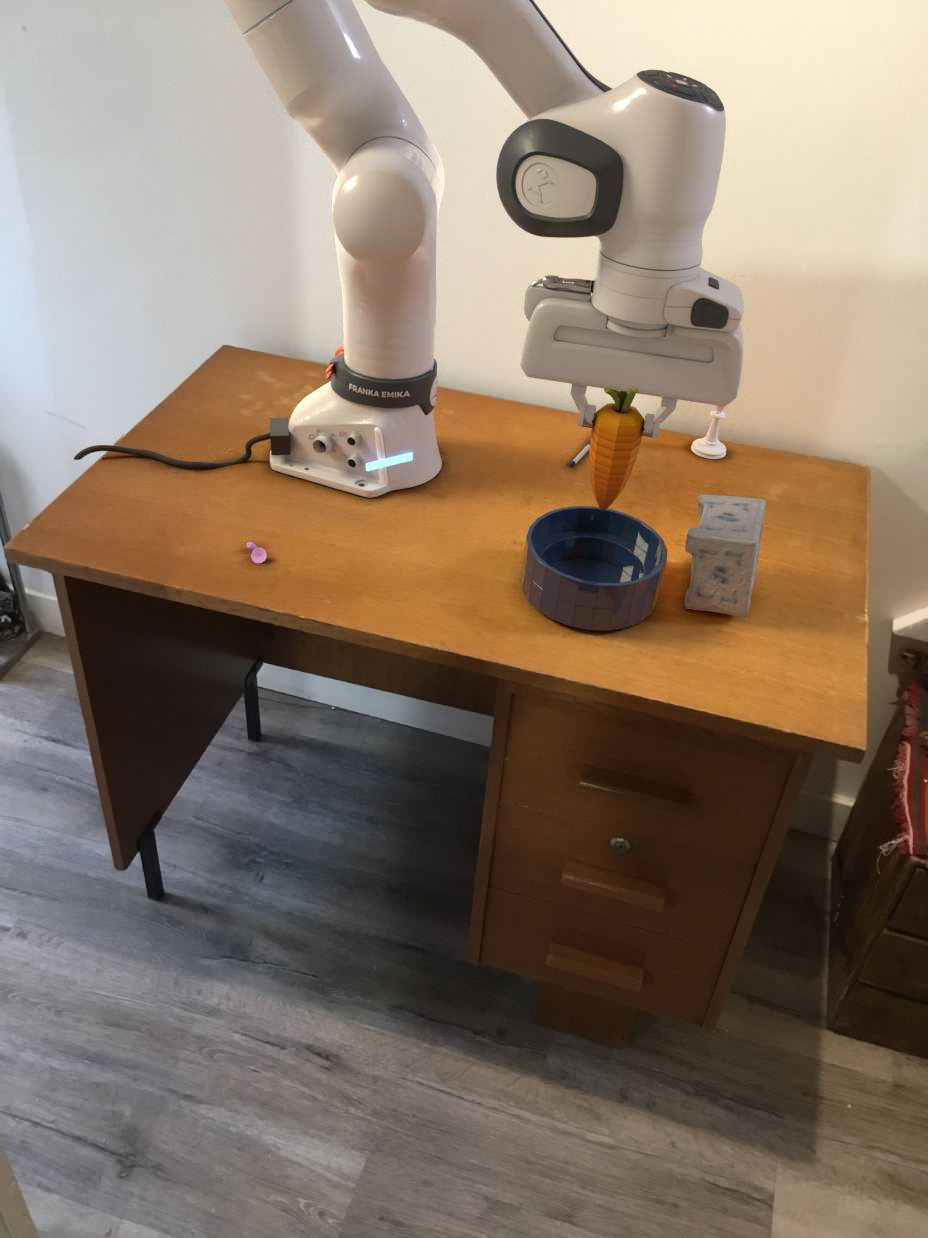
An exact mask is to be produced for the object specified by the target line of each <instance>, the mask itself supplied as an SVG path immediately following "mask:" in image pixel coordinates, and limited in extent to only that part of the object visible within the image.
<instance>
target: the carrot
mask: <svg viewBox="0 0 928 1238" xmlns="http://www.w3.org/2000/svg"><path fill="white" fill-rule="evenodd" d="M637 391H638V390H637V389H636V388H633V387H632V388H631V389H630V391H629V392H624V391H618V390H611V389H604V388H603V392H604V393H605V394H607V395H609V396H610V397H611V398H612V400H613V402H611V403H610V402H609V403H606V404H605V405H603V406H602V407H600V408H599V409H598V410H597V411H595V415H594V420H593V427H592V428H591V433H590V441H589V442H590V449H589V450H588V455H589V457H588V462H589V478H590V479H589V481H590V484H591V489H592V493H593V496H594V498H595V501H596V504H597V507H600V508H601V509H602V510H605V509H607V508H608V509H609V507H611V506H612V504H613V503H614V502H615V501H616V500H617V499H618V497H619V496H620V494H621V492H623V490H624V489H625V487H626V485H627V483H628V480H629V478H630V476H631V474H632V471H633V469H634V466H635V464H636V461H637V458H638V454H639V451H640V446H641V442H642V440H643V439H642V438H643V436H642V432H643V428H644V421H645V417H644V416H643V415H642V414H641V412H640V410H638V409H637V407H635V406H633V405H632V403H633V401H634V399H635V397H636V394H638V393H637Z"/></svg>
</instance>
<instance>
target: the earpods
mask: <svg viewBox="0 0 928 1238" xmlns="http://www.w3.org/2000/svg"><path fill="white" fill-rule="evenodd" d="M246 548H247V549H248V550H249V551H251V553H250V558H251V560H252V562H253V563H254V564H262V563H263V562H265V561H266V559H267V556H268V555H267V554H268V553H267V551H266V550H265V549H264V547H257V545H256V544H255V543H253V542H252V541H249V542H247V543H246Z"/></svg>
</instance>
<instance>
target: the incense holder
mask: <svg viewBox="0 0 928 1238" xmlns="http://www.w3.org/2000/svg"><path fill="white" fill-rule="evenodd" d="M766 506H767V504H766V499H763V498H760V497H758V498H757V497H756V498H755V497H745V496H734V495H721V494H717V495H716V494H704V493H703V494H702V493H701V494H699V496H698V498H697V508H696V512H697V514H698V515H699V516H700V519H699V522H698V525H697V527H689V529H688V531H687V534H686V538H685V547H684V548H685V549H684V551H685V552H686V553H689V554H690V555H691V567H690V583H689V587H688V588H687V590H686V593H685V596H684V607H685V608H686V609H687V610H688V609H689V610H694V611H704V612H710V613H719V614H725V615H730V616H737V617H746V616H748V614H749V612H750V608H751V601H752V595H753V588H754V585H755V580H756V574H757V571H758V564H759V554H760V547H761V541H762V540H761V539H762V531H763V527H764V526H763V525H764V520H765V519H764V518H765V513H766Z"/></svg>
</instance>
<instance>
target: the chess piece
mask: <svg viewBox="0 0 928 1238" xmlns="http://www.w3.org/2000/svg"><path fill="white" fill-rule="evenodd" d="M725 408H726V406H718V405H714V409H713V410H711V411H710V412H709V416H710V417H712V419H711V423H710V425H709V428H708V430H707V433H706V435H705V436H703V437H702V438H696V439H695V440H694V441H693V442H692V443H691V445H690V449H691V451H692V453H694V454H695V455H696V456H698V457H700V458H704V459H709V460H720V459H722V458H724V457H726V454H727V446H726V445H725V444H724V443H723V442H721V441H720V440H719V431H720V423H721V420H722V419H725V418H726V412H725V411H724V410H725Z"/></svg>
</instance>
